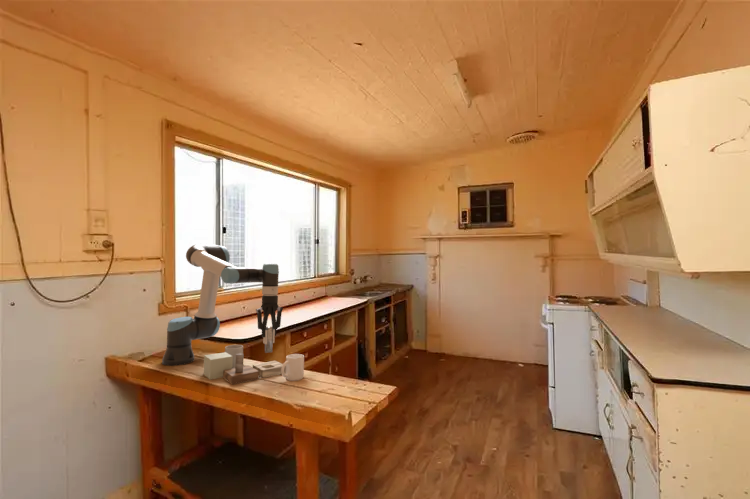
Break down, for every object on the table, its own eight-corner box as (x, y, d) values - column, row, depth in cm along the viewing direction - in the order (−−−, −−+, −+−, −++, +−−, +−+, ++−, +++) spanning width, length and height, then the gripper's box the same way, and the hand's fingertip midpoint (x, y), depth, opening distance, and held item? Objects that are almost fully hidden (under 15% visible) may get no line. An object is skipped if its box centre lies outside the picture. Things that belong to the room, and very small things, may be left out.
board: (223, 377, 160) (224, 352, 161) (248, 372, 168) (249, 349, 169) (232, 384, 152) (233, 358, 152) (258, 378, 160) (259, 353, 160)
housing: (203, 374, 165) (204, 355, 165) (224, 370, 172) (225, 352, 172) (209, 379, 158) (210, 359, 158) (232, 375, 164) (232, 356, 165)
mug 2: (286, 384, 153) (287, 361, 153) (275, 380, 158) (275, 357, 158) (307, 377, 162) (307, 355, 163) (295, 374, 167) (296, 352, 168)
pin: (263, 351, 168) (264, 326, 168) (270, 350, 170) (270, 326, 171) (266, 353, 165) (267, 327, 166) (273, 351, 168) (274, 327, 168)
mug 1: (231, 369, 174) (232, 349, 174) (219, 366, 178) (220, 346, 179) (249, 364, 183) (249, 345, 184) (237, 361, 188) (238, 343, 188)
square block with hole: (252, 371, 170) (252, 364, 170) (275, 367, 178) (275, 360, 178) (262, 377, 161) (263, 370, 161) (286, 372, 169) (286, 365, 169)
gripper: (257, 296, 161) (255, 346, 160) (288, 294, 172) (287, 342, 171) (250, 295, 167) (249, 344, 165) (281, 293, 177) (280, 339, 176)
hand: (268, 342), depth 168 cm, fingers closed on pin, 3 cm apart
